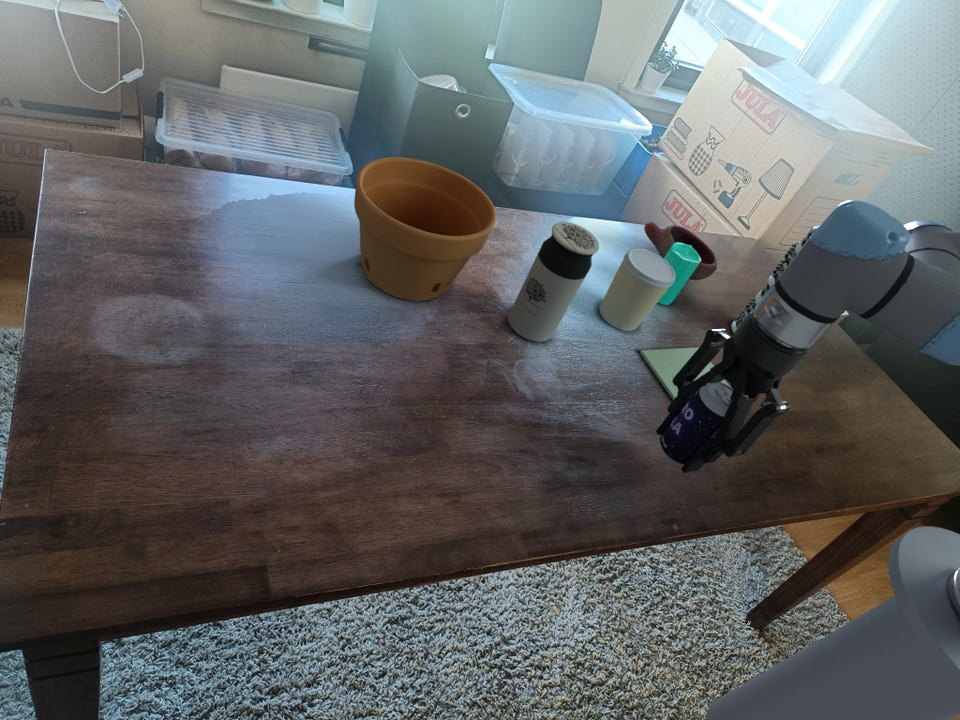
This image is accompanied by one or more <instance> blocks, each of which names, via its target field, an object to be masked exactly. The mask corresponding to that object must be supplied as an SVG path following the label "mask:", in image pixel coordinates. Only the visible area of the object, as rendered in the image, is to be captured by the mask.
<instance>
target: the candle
mask: <svg viewBox="0 0 960 720" xmlns="http://www.w3.org/2000/svg"><path fill="white" fill-rule="evenodd" d="M664 259H665V260H666V261H667V262H668V263H669V264H670V265H671V266H672V268H673V269H674V272H675V280H674V283H673V284H672V285H671V286H670V287H669V288H668V289H667V291H666V292H665V293H664V294H663V296H662V297H661V298H660V300H659V301H658V302H657V304H661V305H665V306H669V305H671V304H672V303H673V302H674V300H675V299H676V298H677V297H678V295H679V293H680V292H681V290H682V289H683V287H684V286H685V285H686V284H687V282H688V280H690V279H689V278H690V276H691V275H692V273H693V272H694V270H695V269H696V268H697V266H698V265H699V263H700V262H701V258H700V256H699V255H698V253H697V252H696V251H695V250H694V249H693V248H692V245H691V246H690V245H687V244H684V243H678V242H676V243H674V244H673V245H672V247H671V248H670V250H669V251H668V253H667V254H666V256H665V257H664Z"/></svg>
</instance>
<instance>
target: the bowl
mask: <svg viewBox="0 0 960 720" xmlns="http://www.w3.org/2000/svg"><path fill="white" fill-rule="evenodd" d="M644 232H645V235H646V237H647V238H648V240H649V241H650V242H651V243H652V245H653V246H654V247H655V249H656V250H657V252H658V253H659V256H661V257H662V258H663V259H664V257H665V256H666V254H667V253H668V251H669V250H670V248H671V247H672V245H673V244H674V243H676V242H678V243H684V244H687V245H690V246H691V245H692V248H693V249H694V250H695V251H696V252H697V253H698V255H699V256H700V258H701V262H700V263H699V265H698V266H697V268H696V269H695V270H694V272H693V273H692V275H691V276H690V278H689V279H688V280H690V281H701V280H704V279H707V278H709V277H710V276H711V275H712V274H714V272H715V271H716V270H717V268H718V267H717V266H718V259H717V256H716V254H715V253H714V252H713V250H712V248H711V247H710V246H709V245H708V244H707V243H706V242H705V241H704V240H703V239H701V238H700V237H698V236H697V234H695V233H693V232H692V231H690V230H689V229H687V228H685V227H684V226H681V225H677V224H671V225H669V226H667V227H665V228H661V227H660V226H658V224H657V223H655V222H653V221H651V222H647V223H645V225H644Z"/></svg>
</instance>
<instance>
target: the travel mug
mask: <svg viewBox="0 0 960 720" xmlns="http://www.w3.org/2000/svg"><path fill="white" fill-rule="evenodd" d="M600 246H601V245H600V243H599V240H598V238H597V237H596V236H595V234H593V233H592V232H590V230H589V229H587V228H585V227H583V226H581V225H579V224H577V223H574V222H569V221H558V222H556V223H554V224H553V225H552V227H551V236H549V237H548V238H547V239H545V240H544V241H543V242H542V244H541V246H540V248H539V251H538V252H537V254H536V256H535V259H534V260H533V263H532V265H531V267H530V269H529V272H528V273H527V275H526V277H525V280H524V282H523V284H522V286H521V287H520V290H519V292H518V294H517V296H516V298H515V300H514V302H513V305H512V307H511V309H510V311H509V313H508V316H507V320H508V323H509V325H510V328H512V329H513V331H514V332H516V333H517V334H518V335H519V336H521V337H522V338H524V339H526V340H528V341H532V342H537V343H540V342H548V341H549V340H551V339H552V338H553V336H554V334H555V333H556V330H557V329H558V328H559V325H560V324H561V322H562V320H563V318H564V316H565V315H566V313H567V311H568V309H569V308H570V306H571V304H572V302H573V301H574V299H575V296H577V294H578V291H579V290H580V288H581V286H582V284H583V282H584V281H585V279H586V277H587V275H588V274H589V272H590V270H591V268H592V266H593V265H592V264H593V260H592V257H593V256H594V255H595V254H596V253H598V252H599V250H600V248H601V247H600Z"/></svg>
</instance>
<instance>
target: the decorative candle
mask: <svg viewBox="0 0 960 720" xmlns="http://www.w3.org/2000/svg"><path fill="white" fill-rule="evenodd" d="M820 225H821V224H820ZM820 225H811V227H810V230H809V232H808V233H807V234H806V235H805V236H804V238H802V239H801V240H800V241H799V242H796V243H792V244H791V247H789V250H787V251H786V253H785V254H784V255H783V257H784V259H781V260H780V261H779V263H778V264H777V266H776V267H775V269H773V271H772V273H773V274H772V275H770V276H769V277H768V279H767V283H766V284H765V286H764V287H763V288H762V289H760V290H759V292H758V293H757V294H756V295H754V296H752V298H751V299H750V302H748V303H747V304H746V305H745V308H743V309H742V310H741V311H740V312H739V314H737V316H736V318H735V319H734V320H733V321H732V323H731V325H730V327H731V331H732V333H733V334H734V333H735V331H736V330H737V328H738V327H739V326H740V325H741V323H742V322H743V321H744V320H745V318H746V317H747V316H748V315H749V313H751V312H753V311H754V309H755V307H756V305H757V304H758V303H759V301H760V300H761V299H762V298H763V296H764V295H765V294H766V293H767V291H768V290H769V289H770V287H771V286H772V285H773V284H774V282H775V281H776V280H777V279H778V278H779V276H780V275H781V274H782V272H783V271H784V270H785V269H786V267H787V266H788V265H789V263H790V262H791V261H792V260H793V258H794V257H795V256H796V254H797V253H798V252H799V251H800V249H801V248H802V247H803V245H804V244H805V243H806V241H807V240H808V239H809V238H810V236H811V235H812V233H813V231H814V230H816V229H817V228H818V227H819V226H820Z"/></svg>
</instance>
